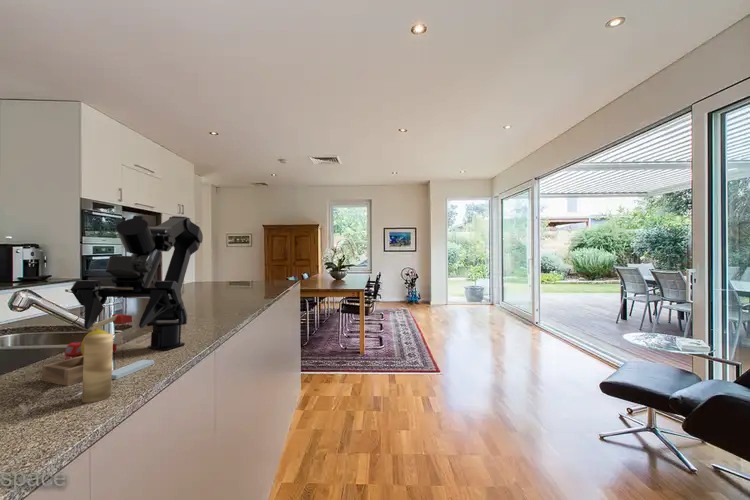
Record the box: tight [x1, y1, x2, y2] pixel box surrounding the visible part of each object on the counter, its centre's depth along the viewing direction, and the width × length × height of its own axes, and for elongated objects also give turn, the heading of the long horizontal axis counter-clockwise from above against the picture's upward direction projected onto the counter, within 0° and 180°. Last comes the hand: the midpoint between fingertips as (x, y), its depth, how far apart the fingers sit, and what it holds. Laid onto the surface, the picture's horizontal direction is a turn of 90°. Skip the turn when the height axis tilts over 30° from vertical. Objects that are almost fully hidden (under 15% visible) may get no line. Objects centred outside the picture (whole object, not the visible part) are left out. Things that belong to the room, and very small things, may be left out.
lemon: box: [81, 329, 109, 355], centre depth 79 cm, size 6×6×8 cm
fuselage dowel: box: [81, 333, 114, 403], centre depth 61 cm, size 4×4×11 cm
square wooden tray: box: [41, 355, 84, 387], centre depth 70 cm, size 8×8×3 cm
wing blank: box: [111, 359, 155, 380], centre depth 74 cm, size 10×3×1 cm, turn 173°
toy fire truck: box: [64, 313, 133, 360], centre depth 84 cm, size 3×14×10 cm, turn 162°
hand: (113, 327), depth 66 cm, fingers open, 9 cm apart
